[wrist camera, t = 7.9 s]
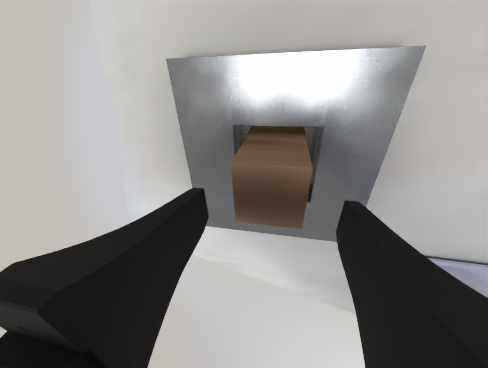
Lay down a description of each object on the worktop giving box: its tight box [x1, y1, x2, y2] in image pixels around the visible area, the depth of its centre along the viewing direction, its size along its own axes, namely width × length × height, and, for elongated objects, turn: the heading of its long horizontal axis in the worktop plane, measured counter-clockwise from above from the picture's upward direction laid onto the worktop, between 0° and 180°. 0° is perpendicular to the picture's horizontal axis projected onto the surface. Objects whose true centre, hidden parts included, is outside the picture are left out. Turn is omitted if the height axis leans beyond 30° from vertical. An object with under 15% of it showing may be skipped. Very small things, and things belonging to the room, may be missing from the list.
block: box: [231, 126, 313, 229], centre depth 13 cm, size 4×4×7 cm
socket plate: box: [166, 46, 426, 242], centre depth 15 cm, size 14×14×2 cm
